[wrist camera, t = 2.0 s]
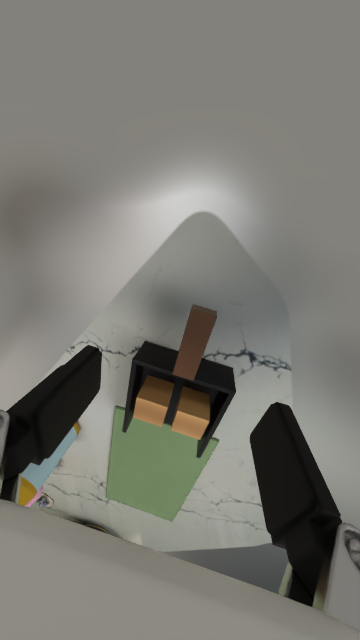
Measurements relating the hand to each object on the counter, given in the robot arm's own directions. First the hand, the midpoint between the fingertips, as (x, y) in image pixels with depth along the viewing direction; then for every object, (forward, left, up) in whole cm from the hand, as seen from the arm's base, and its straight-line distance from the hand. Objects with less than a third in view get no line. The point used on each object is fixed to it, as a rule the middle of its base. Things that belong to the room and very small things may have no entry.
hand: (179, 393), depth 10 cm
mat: (+10, +38, -12) cm, 41 cm away
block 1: (+6, +12, -12) cm, 18 cm away
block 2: (+1, +14, -12) cm, 18 cm away
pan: (+2, +9, -12) cm, 15 cm away
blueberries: (+47, +65, -12) cm, 81 cm away
